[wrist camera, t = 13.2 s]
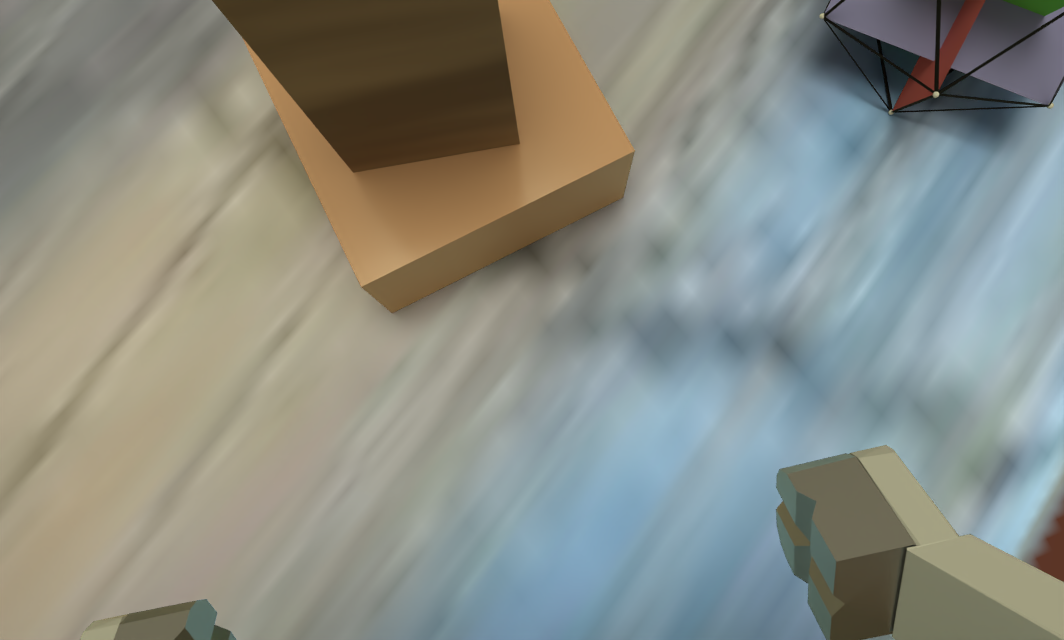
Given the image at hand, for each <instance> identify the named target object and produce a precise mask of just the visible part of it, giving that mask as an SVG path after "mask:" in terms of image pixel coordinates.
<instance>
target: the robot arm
mask: <svg viewBox="0 0 1064 640" xmlns="http://www.w3.org/2000/svg"><path fill="white" fill-rule="evenodd" d="M776 488H777V490H778V492H779V494H780V496H781V498H782V500H783V502H782V503H781V504H780V505H779V506H778V508H777V509H776V520H777V529H778V534H779V538H780V543H781V546H782V549H783V551H784V554H785V557H786V559H787V561H788V563H789V566H790V568H791V570H792V572H793V574H794V575H795V576H797V577H798V578H800V579H801V580H803V581H805V582H806V583H808V604H809V606H810V608H811V610H812V612H813V614H814V616H815V618H816V620H817V622H818V624H819V626H820V628H821V630H822V632H823V634H824V636H825V638H826V640H863V639H868V638H873V637H878V636H883V635H888V634H893V635H892V637H893V638H894V639H895V640H1064V582H1062V581H1060V580H1058V579H1056V578H1054V577H1052V576H1050V575H1048V574H1046V573H1045V572H1043V571H1041V570H1039V569H1037V568H1035V567H1033V566H1031V565H1029V564H1027V563H1025V562H1023V561H1021V560H1019V559H1017V558H1015V557H1014V556H1012V555H1010V554H1008V553H1006V552H1004V551H1002V550H1000V549H998V548H996V547H994V546H992V545H990V544H988V543H986V542H984V541H983V540H981V539H979V538H977V537H975V536H973V535H971V534H969V535H963V536H959V535H958V534H957V533H956V531H955V530H954V529H953V528H952V526H951V525H950V524H949V522H948V521H947V520H946V518H945V517H944V516H943V514H942V513H941V512H940V510H939V509H938V508H937V506H936V505H935V504H934V502H933V501H932V500H931V498H930V497H929V496H928V495H927V493H926V492H925V491H924V489H923V488H922V487H921V485H920V484H919V483H918V481H917V480H916V479H915V477H914V476H913V475H912V473H911V472H910V471H909V469H908V468H907V467H906V465H905V464H904V463H903V462H902V460H901V459H900V458H899V456H898V455H897V454H896V452H895V451H894V450H893V449H892V448H890V447H888V446H887V445H884V446H880V447H875V448H871V449H866V450H862V451H857V452H853V453H850V454H847V453H845V454H841V455H837V456H833V457H828V458H824V459H820V460H816V461H811V462H807V463H803V464H799V465H795V466H790V467H786V468H782V469H779V471H778V473H777V480H776ZM216 616H217V612H216V611H215V609H214V608H213V607H212V606H211V604H210V603H209V602H208V601H207V599H204V600H197V601H192V602H187V603H182V604H177V605H172V606H166V607H161V608H156V609H151V610H146V611H141V612H136V613H131V614H127V615H122V616H117V617H112V618H108V619H103V620H98V621H93V623H92V624H91V625H90V626H89V627H88V628H87V629H86V630H85V631H84V632H83V634H82V636H81V639H80V640H236V638H235V637H234V636H233V634H232V633H231V631H229V630H226V629H224V628H221V627H219V626H216V625H214V624H215V620H216Z"/></svg>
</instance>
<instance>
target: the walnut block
mask: <svg viewBox="0 0 1064 640" xmlns="http://www.w3.org/2000/svg"><path fill="white" fill-rule="evenodd" d="M212 1H213V2H214V3H215V5H216V6H217V7H218V8H219V9H220V11H221V12H222V13H223V14H224V16H225V17H226V18H227V19H228V20H229V22H230V23H231V24H232V25H233V27H234V28H235V29H236V30H237V31H238V33H239V34H240V35H241V36H242V38H243V39H244V40H245V41H246V42H247V44H248V45H249V46H250V47H251V49H252V50H253V51H254V52H255V53H256V55H257V56H258V57H259V58H260V60H261V61H262V62H263V63H264V64H265V66H266V67H267V68H268V69H269V71H270V72H271V73H272V74H273V75H274V77H275V78H276V79H277V80H278V82H279V83H280V84H281V85H282V86H283V88H284V89H285V90H286V91H287V93H288V94H289V95H290V96H291V97H292V99H293V100H294V101H295V102H296V103H297V105H298V106H299V107H300V108H301V110H302V111H303V112H304V113H305V114H306V116H307V117H308V118H309V119H310V121H311V122H312V123H313V124H314V125H315V127H316V128H317V129H318V130H319V132H320V133H321V134H322V135H323V136H324V138H325V139H326V140H327V141H328V143H329V144H330V145H331V146H332V147H333V149H334V150H335V151H336V152H337V154H338V155H339V156H340V157H341V158H342V160H343V161H344V162H345V163H346V165H347V166H348V167H349V168H350V169H351V171H352V172H353V173H355V172H360V171H366V170H372V169H377V168H383V167H389V166H395V165H400V164H406V163H412V162H417V161H423V160H429V159H434V158H440V157H446V156H452V155H457V154H463V153H469V152H474V151H480V150H486V149H491V148H497V147H503V146H509V145H514V144H520V141H519V135H518V128H517V122H516V115H515V109H514V102H513V96H512V89H511V83H510V76H509V70H508V63H507V57H506V50H505V44H504V37H503V31H502V24H501V18H500V11H499V5H498V0H212Z"/></svg>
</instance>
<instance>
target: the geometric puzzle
mask: <svg viewBox="0 0 1064 640" xmlns="http://www.w3.org/2000/svg"><path fill="white" fill-rule="evenodd" d="M820 19H824V21H825V22H826V21H827V22H829V23H830V24H832V25H833V26H835V27H836V28H838V29H839V30H841V31H842V32H843V33H845V34H846V35H848V36H849V37H851V38H852V39H854V40H855V41H857V42H858V43H860V44H861V45H863V46H864V47H865V48H867V49H868V50H870V51H871V52H873V53H874V54H876V55H877V56H879V57H880V59H881V65H882V70H883V76H884V81H885V87H886V92H887V98H888V103H889V107H888V106H887V104H886V103H885V102H884V100H883V99H882V98H881V96H880V95H879V93H878V92H877V91H876V89H875V88H874V87H873V85H872V84H871V82H870V81H869V80H868V78H867V77H866V75H865V74H864V73H863V71H862V70H861V69H860V67H859V66H858V64H857V63H856V62H855V60H854V59H853V57H852V56H851V55H850V53H849V52H848V51H847V49H846V48H845V46H844V45H843V44H842V42H841V41H840V40H839V38H838V37H837V35H836V34H835V33H834V31H833V30H832V28H831V27H830V26H829V24H828V23H827V22H826V24H827V25H828V26H829V28H830V29H831V30H832V32H833V33H834V35H835V36H836V37H837V39H838V40H839V41H840V43H841V44H842V46H843V47H844V48H845V50H846V51H847V52H848V54H849V55H850V57H851V58H852V59H853V61H854V62H855V64H856V65H857V66H858V68H859V69H860V70H861V72H862V73H863V75H864V76H865V77H866V79H867V80H868V81H869V83H870V84H871V86H872V87H873V88H874V90H875V91H876V93H877V94H878V95H879V97H880V98H881V99H882V101H883V102H884V104H885V105H886V106H887V108H888V109H889V112H888V113H889V115H892V114H893V113H897V112H923V111H950V110H977V109H1003V108H1030V107H1047V108H1049V109H1051V108H1053V106H1054V104H1053V103H1052V102H1053V100H1054V98H1055V96H1056V95H1057V93H1058V91H1059V89H1060V87H1061V86H1062V84H1063V82H1064V0H830V1H829V3H828V5H827V7H826V10H825V12H824V13H822V14H820ZM832 21H833V22H832ZM834 22H836V23H838V24H841V25H843V26H846V27H848V28H851V29H853V30H856V31H858V32H861V33H863V34H866V35H869V36H871V37H874V38H876V39H877V43H878V48H879V53H878V52H876V51H875V50H873V49H872V48H870V47H869V46H867V45H866V44H865V43H863V42H862V41H860V40H859V39H857V38H856V37H854V36H853V35H851V34H850V33H848V32H847V31H845V30H844V29H842V28H841V27H840V26H838V25H837V24H835V23H834ZM880 40H881V41H884V42H886V43H889V44H891V45H894V46H897V47H899V48H902V49H904V50H907V51H909V52H912V53H914V54H917V55H919V56H920V57H919V59H918V61H917V63H916V65H915V67H914V69H913V71H912V73H911V75H910V74H909V73H907V72H906V71H904V70H903V69H901V68H900V67H898V66H897V65H895V64H894V63H893V62H891V61H890V60H888V59H887V58H885V57H884V56H883V54H882V49H881V43H880ZM884 60H885V61H886V62H887V63H889V64H890V65H892V66H893V67H895V68H896V69H898V70H899V71H901V72H902V73H904V74H905V75H907V76H908V77H909V79H908V81H907V83H906V85H905V87H904V88H903V90H902V92H901V94H900V96H899V98H898V100H897V102H896V104H895V106H894V108H893V109H892V104H891V98H890V93H889V87H888V82H887V76H886V71H885V65H884ZM950 68H951V69H950ZM954 70H958V71H960V72H963V73H965V75H964V76H962V77H960V78H959V79H957V80H956V81H954V82H953V83H951V84H949V85H948V86H946V87H945V88H943V89H942V90H940V91H939V89H940V87H941V85H942V83H943V81H944V79H945V77H946V76H947V75H948V74H949V73H951V72H952V71H954ZM969 75H970V76H973V77H975V78H978V79H980V80H983V81H985V82H988V83H991V84H993V85H996V86H998V87H1001V88H1003V89H1006V90H1008V91H1011V92H1013V93H1016V94H1019V95H1021V96H1024V97H1026V98H1029V99H1031V100H1034V101H1036V102H1039V103H1041V104H1035V103H1025V102H1015V101H1006V100H996V99H987V98H977V97H967V96H958V95H948V94H941V93H942V92H944V91H946V90H947V89H949V88H950V87H952V86H954V85H955V84H957V83H958V82H960V81H961V80H963V79H965V78H966V77H968V76H969ZM938 96H946V97H955V98H965V99H975V100H984V101H994V102H1004V103H1014V104H1023V105H1033V106H1023V107H997V108H971V109H945V110H919V111H899V110H902V109H904V108H907V107H909V106H912V105H915V104H917V103H920V102H922V101H925V100H928V99H930V98H933V97H934V98H937V97H938Z"/></svg>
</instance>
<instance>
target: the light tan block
mask: <svg viewBox="0 0 1064 640" xmlns="http://www.w3.org/2000/svg"><path fill="white" fill-rule="evenodd" d="M498 5H499V11H500V18H501V24H502V31H503V37H504V44H505V50H506V57H507V63H508V70H509V76H510V83H511V89H512V96H513V102H514V109H515V115H516V122H517V128H518V135H519V141H520V144H514V145H509V146H503V147H497V148H491V149H486V150H480V151H474V152H469V153H463V154H457V155H452V156H446V157H440V158H434V159H429V160H423V161H417V162H412V163H406V164H400V165H395V166H389V167H383V168H377V169H372V170H366V171H360V172H355V173H353V172H352V171H351V169H350V168H349V167H348V166H347V165H346V163H345V162H344V161H343V160H342V158H341V157H340V156H339V155H338V154H337V152H336V151H335V150H334V149H333V147H332V146H331V145H330V144H329V143H328V141H327V140H326V139H325V138H324V136H323V135H322V134H321V133H320V132H319V130H318V129H317V128H316V127H315V125H314V124H313V123H312V122H311V121H310V119H309V118H308V117H307V116H306V114H305V113H304V112H303V111H302V110H301V108H300V107H299V106H298V105H297V103H296V102H295V101H294V100H293V99H292V97H291V96H290V95H289V94H288V93H287V91H286V90H285V89H284V88H283V86H282V85H281V84H280V83H279V82H278V80H277V79H276V78H275V77H274V75H273V74H272V73H271V72H270V71H269V69H268V68H267V67H266V66H265V64H264V63H263V62H262V61H261V60H260V58H259V57H258V56H257V55H256V53H255V52H254V51H253V50H252V49H251V47H250V46H249V45H248V44H247V42H246V41H245V40H244V39H243V40H244V42H245V44H246V46H247V48H248V51H249V53H250V55H251V57H252V59H253V61H254V63H255V65H256V67H257V69H258V72H259V74H260V76H261V78H262V80H263V82H264V84H265V86H266V88H267V90H268V93H269V95H270V97H271V99H272V101H273V103H274V105H275V107H276V109H277V111H278V113H279V116H280V118H281V120H282V122H283V124H284V126H285V128H286V130H287V132H288V134H289V137H290V139H291V141H292V143H293V145H294V147H295V149H296V151H297V153H298V155H299V158H300V160H301V162H302V164H303V166H304V168H305V170H306V172H307V174H308V176H309V179H310V181H311V183H312V185H313V187H314V189H315V191H316V193H317V195H318V197H319V200H320V202H321V204H322V206H323V208H324V210H325V212H326V214H327V216H328V218H329V221H330V223H331V225H332V227H333V229H334V231H335V233H336V235H337V237H338V239H339V242H340V244H341V246H342V248H343V250H344V252H345V254H346V256H347V258H348V260H349V263H350V265H351V267H352V269H353V271H354V273H355V275H356V277H357V279H358V281H359V284H360V286H361V287H362V288H363V289H364V290H365V291H366V292H368V293H369V294H370V295H371V296H372V297H374V298H375V299H376V300H377V301H378V302H379V303H381V304H382V305H383V306H384V307H385V308H387V309H388V310H389V311H390V312H391V313H394V312H396V311H398V310H400V309H402V308H404V307H406V306H408V305H410V304H412V303H414V302H416V301H418V300H420V299H422V298H424V297H426V296H428V295H430V294H432V293H434V292H436V291H438V290H440V289H442V288H444V287H446V286H448V285H450V284H452V283H454V282H456V281H458V280H460V279H462V278H464V277H466V276H468V275H470V274H472V273H474V272H476V271H478V270H480V269H482V268H484V267H486V266H488V265H490V264H492V263H494V262H496V261H498V260H499V259H501V258H503V257H505V256H507V255H509V254H511V253H513V252H515V251H517V250H519V249H521V248H523V247H525V246H527V245H529V244H531V243H533V242H535V241H537V240H539V239H541V238H543V237H545V236H547V235H549V234H551V233H553V232H555V231H557V230H559V229H561V228H563V227H565V226H567V225H569V224H571V223H573V222H575V221H577V220H579V219H581V218H583V217H585V216H587V215H589V214H591V213H593V212H595V211H597V210H599V209H601V208H603V207H605V206H607V205H609V204H611V203H613V202H615V201H617V200H619V199H621V198H623V196H624V192H625V188H626V184H627V180H628V176H629V172H630V168H631V164H632V160H633V156H634V152H635V150H634V148H633V147H632V145H631V143H630V141H629V140H628V138H627V136H626V134H625V133H624V131H623V129H622V127H621V126H620V124H619V122H618V120H617V119H616V117H615V115H614V113H613V112H612V110H611V108H610V106H609V104H608V103H607V101H606V99H605V97H604V96H603V94H602V92H601V90H600V89H599V87H598V85H597V83H596V82H595V80H594V78H593V76H592V75H591V73H590V71H589V69H588V68H587V66H586V64H585V62H584V61H583V59H582V57H581V55H580V53H579V52H578V50H577V48H576V46H575V45H574V43H573V41H572V39H571V38H570V36H569V34H568V32H567V31H566V29H565V27H564V25H563V24H562V22H561V20H560V18H559V17H558V15H557V13H556V11H555V10H554V8H553V6H552V4H551V2H550V1H549V0H498Z"/></svg>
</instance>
